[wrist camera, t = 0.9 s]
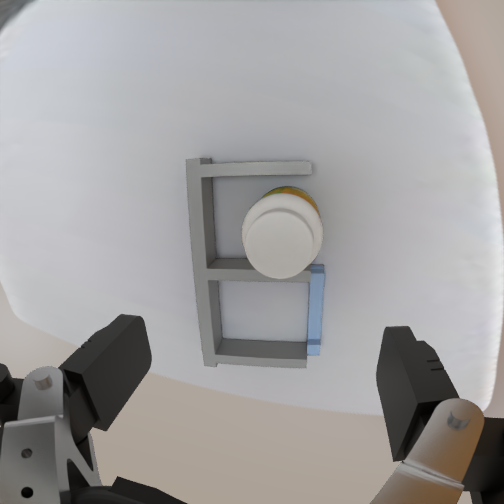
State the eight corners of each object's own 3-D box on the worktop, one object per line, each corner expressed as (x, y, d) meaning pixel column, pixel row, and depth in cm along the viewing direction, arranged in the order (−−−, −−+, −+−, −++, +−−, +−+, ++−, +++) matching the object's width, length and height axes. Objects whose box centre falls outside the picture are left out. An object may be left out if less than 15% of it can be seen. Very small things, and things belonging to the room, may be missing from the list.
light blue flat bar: (310, 265, 28) (310, 271, 26) (323, 265, 28) (324, 271, 26) (306, 346, 30) (306, 356, 29) (319, 346, 30) (319, 356, 28)
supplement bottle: (283, 172, 26) (272, 178, 17) (331, 214, 27) (346, 242, 17) (243, 220, 28) (213, 250, 19) (290, 259, 28) (283, 307, 19)
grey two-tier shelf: (197, 159, 27) (185, 159, 24) (310, 155, 25) (311, 154, 23) (212, 349, 32) (204, 365, 29) (306, 354, 31) (305, 372, 28)
